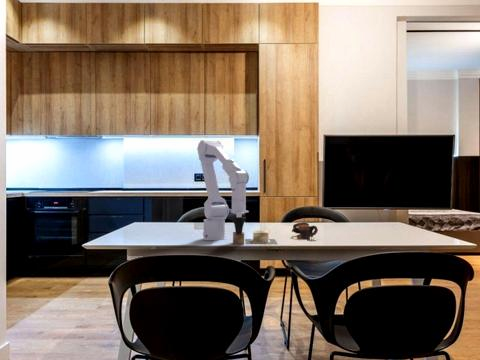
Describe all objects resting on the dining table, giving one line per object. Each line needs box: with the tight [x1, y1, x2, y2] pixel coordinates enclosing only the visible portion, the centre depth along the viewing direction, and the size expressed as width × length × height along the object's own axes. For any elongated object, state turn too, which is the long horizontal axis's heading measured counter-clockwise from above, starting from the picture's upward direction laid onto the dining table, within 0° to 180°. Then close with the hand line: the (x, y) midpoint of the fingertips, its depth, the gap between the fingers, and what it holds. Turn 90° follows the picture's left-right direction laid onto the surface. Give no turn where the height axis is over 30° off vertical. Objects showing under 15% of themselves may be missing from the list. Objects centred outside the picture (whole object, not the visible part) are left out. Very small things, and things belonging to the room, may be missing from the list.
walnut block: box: [232, 231, 245, 246], centre depth 170 cm, size 4×4×5 cm
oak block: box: [252, 230, 269, 242], centre depth 176 cm, size 6×6×4 cm
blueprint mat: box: [244, 238, 278, 245], centre depth 175 cm, size 13×13×1 cm
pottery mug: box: [291, 222, 319, 241], centre depth 187 cm, size 12×10×8 cm
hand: (238, 233), depth 170 cm, fingers open, 7 cm apart
